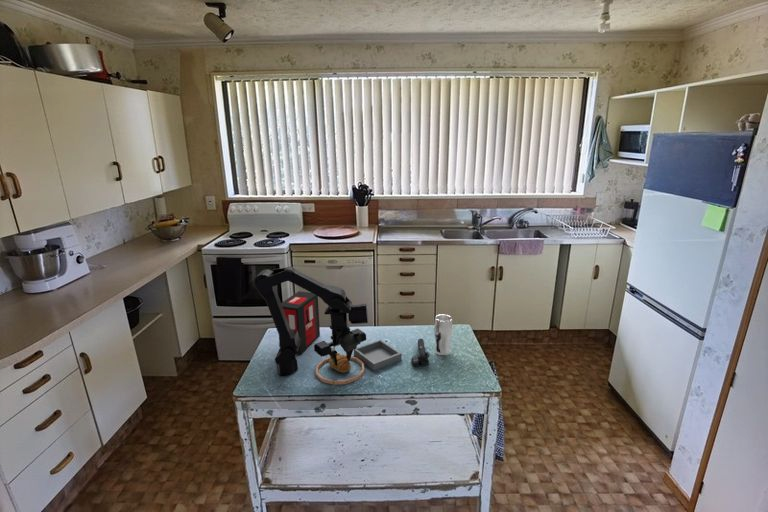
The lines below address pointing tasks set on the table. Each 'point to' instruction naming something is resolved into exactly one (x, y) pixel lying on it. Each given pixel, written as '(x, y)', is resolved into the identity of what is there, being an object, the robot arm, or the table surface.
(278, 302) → the robot arm
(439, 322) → the drink can
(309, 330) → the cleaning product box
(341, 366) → the pastry
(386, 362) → the bin
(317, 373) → the socket ring
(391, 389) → the table surface
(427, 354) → the can opener
